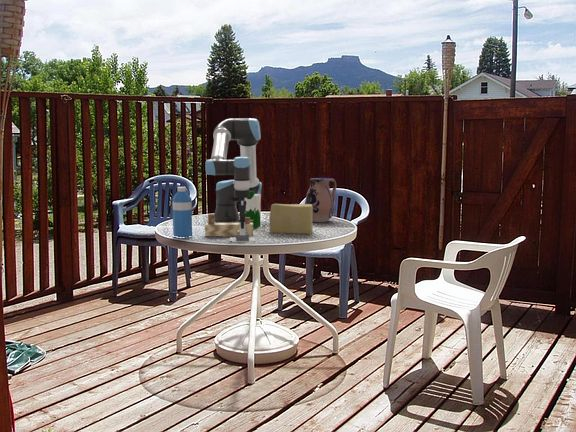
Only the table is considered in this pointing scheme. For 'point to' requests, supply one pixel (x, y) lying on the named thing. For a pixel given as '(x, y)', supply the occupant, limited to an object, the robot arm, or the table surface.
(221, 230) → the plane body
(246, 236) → the lever cap
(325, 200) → the ceramic pitcher
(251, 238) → the mat
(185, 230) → the water bottle
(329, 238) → the table surface
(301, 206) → the cheese
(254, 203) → the milk carton
